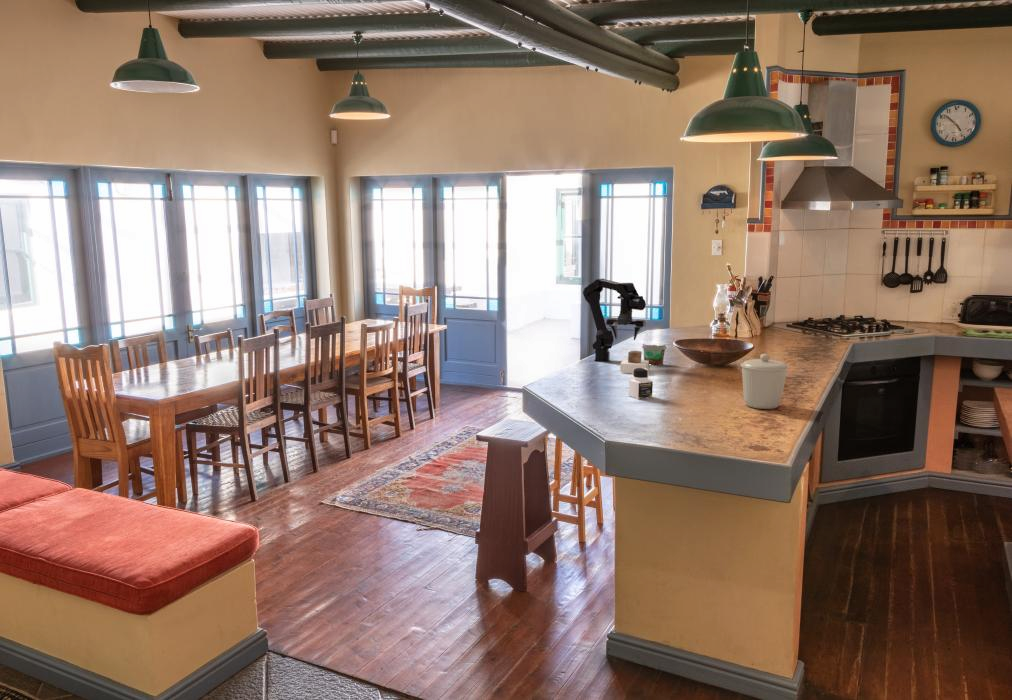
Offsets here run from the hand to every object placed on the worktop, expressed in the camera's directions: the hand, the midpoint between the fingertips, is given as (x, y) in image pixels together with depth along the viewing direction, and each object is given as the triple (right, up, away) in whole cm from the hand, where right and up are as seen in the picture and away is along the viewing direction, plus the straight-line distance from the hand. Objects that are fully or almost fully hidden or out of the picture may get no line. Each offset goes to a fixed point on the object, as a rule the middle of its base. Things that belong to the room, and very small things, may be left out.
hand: (625, 339), depth 395 cm
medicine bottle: (-4, -25, -66) cm, 70 cm away
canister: (+42, -28, -81) cm, 95 cm away
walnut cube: (+2, -11, -14) cm, 18 cm away
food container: (+14, -13, +5) cm, 20 cm away
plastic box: (+3, -16, -13) cm, 21 cm away
